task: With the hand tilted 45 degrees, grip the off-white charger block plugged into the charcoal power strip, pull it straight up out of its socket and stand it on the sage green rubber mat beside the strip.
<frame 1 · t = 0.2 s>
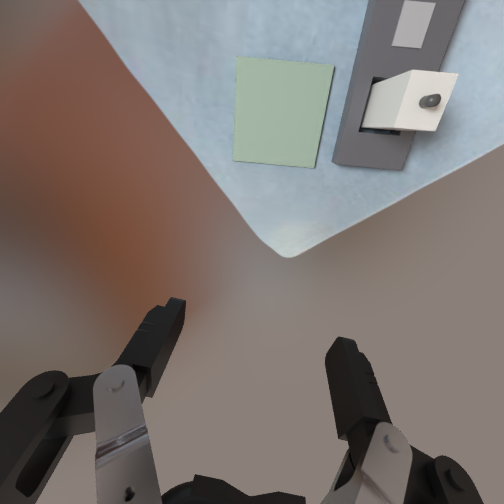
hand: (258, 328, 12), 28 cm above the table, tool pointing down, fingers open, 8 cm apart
power strip: (395, 50, 28), on the table
charger: (377, 108, 31), resting in power strip
mat: (278, 117, 31), on the table
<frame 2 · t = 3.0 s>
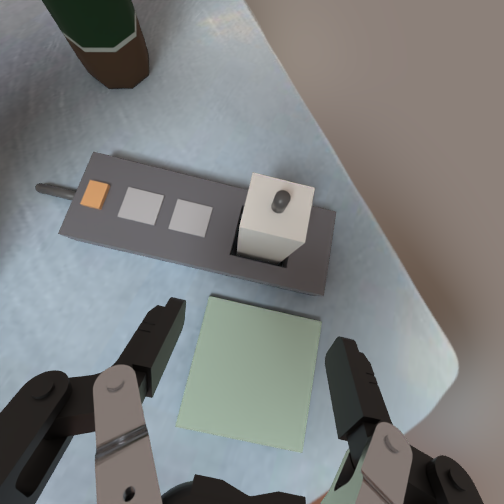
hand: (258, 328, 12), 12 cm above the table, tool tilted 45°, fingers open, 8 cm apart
power strip: (208, 229, 26), on the table
charger: (260, 242, 26), resting in power strip
beer bottle: (121, 67, 29), on the table
mat: (253, 369, 23), on the table
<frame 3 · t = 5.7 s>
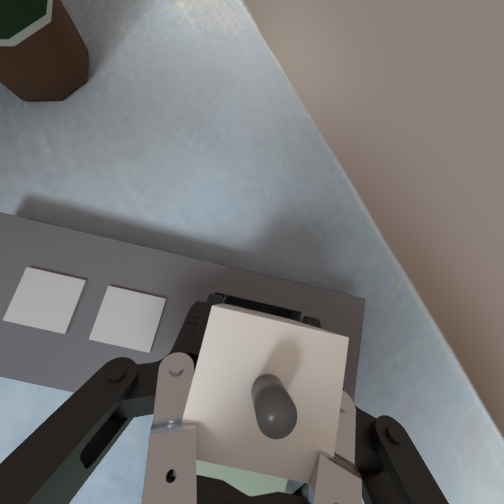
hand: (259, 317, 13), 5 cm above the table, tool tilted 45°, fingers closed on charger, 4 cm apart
power strip: (165, 320, 17), on the table
charger: (247, 338, 17), resting in power strip, touching gripper
beer bottle: (48, 70, 20), on the table
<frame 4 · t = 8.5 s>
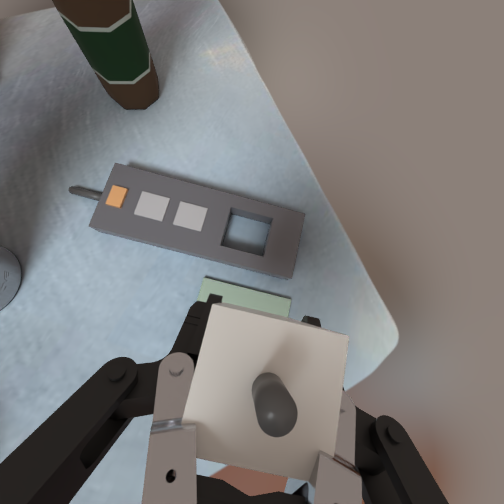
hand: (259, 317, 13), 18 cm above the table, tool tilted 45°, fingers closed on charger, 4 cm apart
power strip: (204, 225, 32), on the table
charger: (247, 338, 17), point 14 cm above the table, touching gripper
beer bottle: (136, 91, 36), on the table
mat: (236, 334, 30), on the table
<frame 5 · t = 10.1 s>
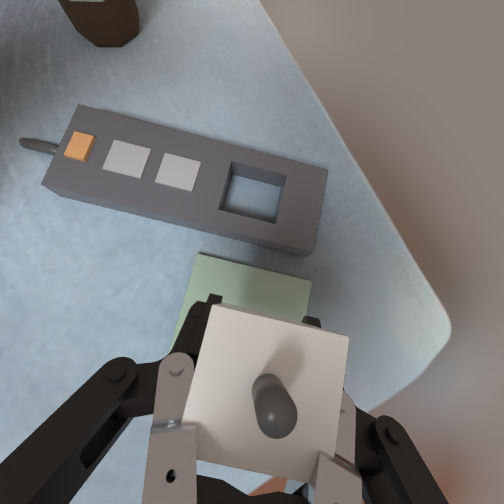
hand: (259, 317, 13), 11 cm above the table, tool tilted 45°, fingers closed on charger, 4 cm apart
power strip: (197, 188, 25), on the table
charger: (247, 338, 17), point 6 cm above the table, touching gripper
beer bottle: (110, 26, 28), on the table
mat: (241, 327, 23), on the table
when the fingers open (7 cm above the table, at t = 11.3 s): charger drops 1 cm, resting on mat.
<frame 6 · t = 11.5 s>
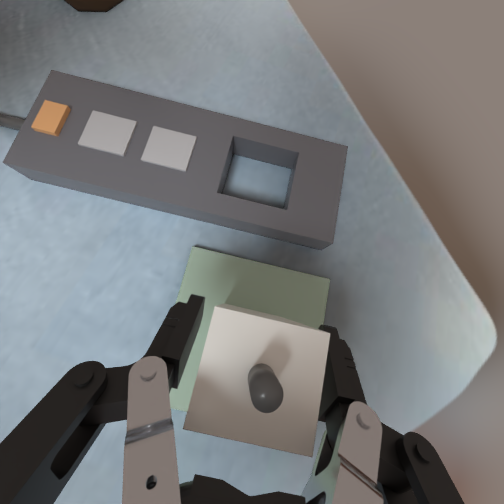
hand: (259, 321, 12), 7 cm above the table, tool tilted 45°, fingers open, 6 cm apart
power strip: (193, 170, 21), on the table
charger: (246, 336, 18), point 1 cm above the table, touching mat
mat: (245, 335, 19), on the table
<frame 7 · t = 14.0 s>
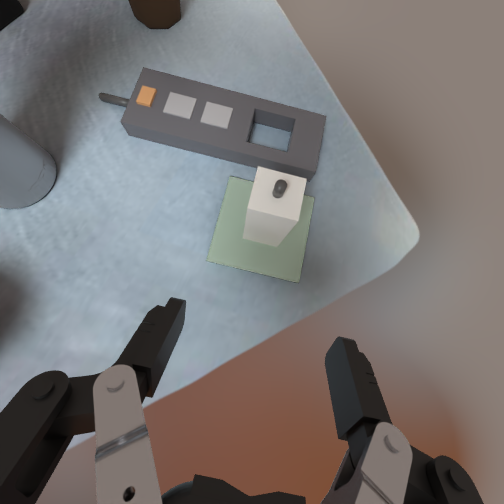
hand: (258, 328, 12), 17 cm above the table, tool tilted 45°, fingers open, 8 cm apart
power strip: (228, 131, 33), on the table
charger: (263, 227, 30), resting on mat
beer bottle: (158, 14, 37), on the table
mat: (262, 228, 31), on the table
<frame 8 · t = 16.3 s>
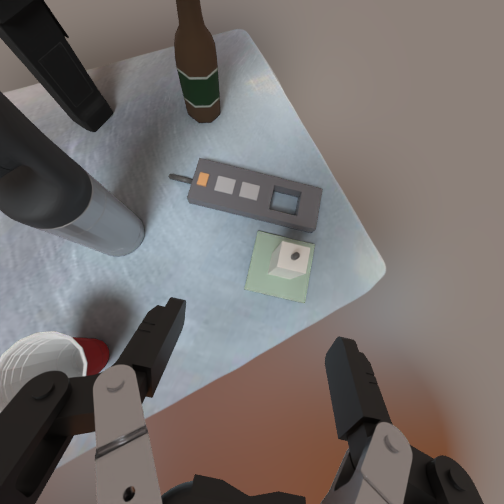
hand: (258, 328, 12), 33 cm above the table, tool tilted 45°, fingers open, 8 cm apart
power strip: (255, 198, 49), on the table
charger: (280, 266, 46), resting on mat
beer bottle: (204, 110, 52), on the table
portable radio: (95, 115, 50), on the table
mat: (280, 266, 46), on the table
plastic cup: (94, 355, 40), on the table
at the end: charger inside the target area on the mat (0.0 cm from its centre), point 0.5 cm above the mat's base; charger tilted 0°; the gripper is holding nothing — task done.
